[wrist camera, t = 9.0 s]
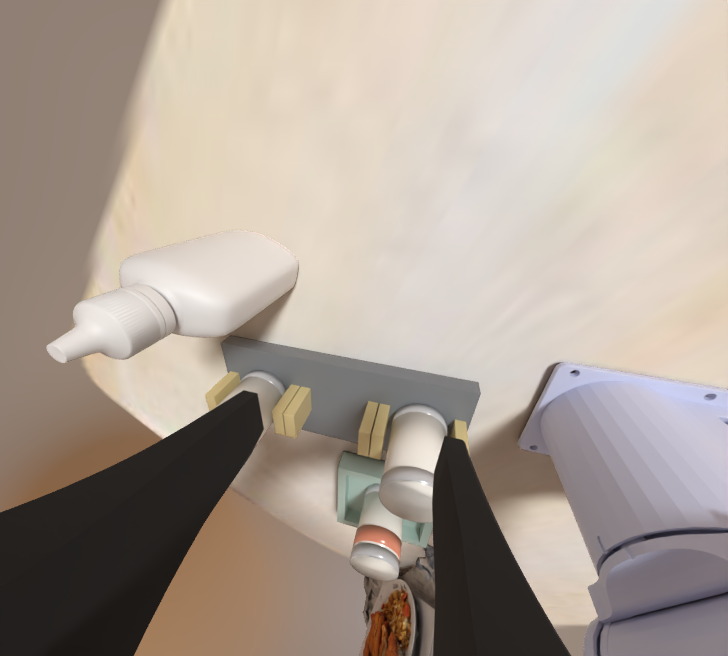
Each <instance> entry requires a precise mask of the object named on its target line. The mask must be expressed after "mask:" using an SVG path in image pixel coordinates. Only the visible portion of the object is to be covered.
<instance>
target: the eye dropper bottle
mask: <svg viewBox="0 0 728 656" xmlns="http://www.w3.org/2000/svg"><path fill="white" fill-rule="evenodd" d="M298 267H299V264H298V260H297V258H296V256H295V255H294V254H293V253H291V252H290V251H289V250H288V249H287V248H285V247H284V246H283V245H281V244H280V243H278V242H277V241H275V240H273V239H271V238H269V237H267V236H265V235H262V234H259V233H256V232H252V231H245V230H229V231H224V232H220V233H216V234H212V235H208V236H204V237H200V238H196V239H192V240H188V241H184V242H180V243H177V244H173V245H169V246H165V247H161V248H157V249H153V250H150V251H146V252H143V253H139V254H136V255H133V256H131V257H128V258H127V259H125V260H124V261H123V262H122V263H121V265H120V269H119V280H120V285H121V288H119V289H116V290H113V291H110V292H107V293H104V294H102V295H99V296H96V297H93V298H90V299H87V300H84V301H81V302H79V303H78V304H77V305H76V306H75V308H74V311H73V319H74V322H75V325H76V326H75V328H73V329H72V330H71V331H69V332H67V333H66V334H64V335H63V336H61V337H60V338H58V339H56V340H55V341H53V342H52V343H50V344H49V345H47V351H48V352H49V354H50V355H51V356H52V357H53V358H54V359H56V360H57V361H59V362H61V363H66V362H69V361H72V360H75V359H78V358H81V357H84V356H87V355H90V354H94V353H99V352H100V353H102V354H104V355H106V356H108V357H110V358H114V359H121V360H122V359H123V360H124V359H128V358H130V357H132V356H134V355H135V354H137V353H139V352H140V351H142V350H144V349H146V348H147V347H149V346H151V345H152V344H154V343H156V342H158V341H159V340H161V339H163V338H164V337H166V336H168V335H170V334H171V333H173V334H177V335H183V336H190V337H204V338H206V337H221V336H225V335H227V334H229V333H231V332H233V331H235V330H236V329H237V328H239V327H240V326H242V325H243V324H245V323H246V322H247V321H249V320H250V319H251V318H253V317H254V316H256V315H257V314H258V313H260V312H261V311H262V310H264V309H265V308H266V307H268V306H269V305H270V304H272V303H273V302H274V301H276V300H277V299H278V298H280V297H281V296H282V295H284V294H285V293H286V292H288V291H289V290H290V289H292V288H293V287H294V285H295V283H296V278H297V273H298Z"/></svg>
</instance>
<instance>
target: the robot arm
mask: <svg viewBox="0 0 728 656" xmlns="http://www.w3.org/2000/svg"><path fill="white" fill-rule="evenodd" d="M573 370H577V371H576V372H574V373H570V372H571V371H573ZM707 394H708V395H707ZM263 430H264V426H263V421H262V415H261V410H260V404H259V399H258V393H254V392H249V391H245V390H243V391H242V392H240V393H238V394H237V395H235V396H233V397H232V398H230V399H229V400H227V401H225V402H224V403H222V404H221V405H219V406H217V407H216V408H214V409H213V410H211V411H210V412H208V413H206V414H205V415H203V416H201V417H200V418H198V419H197V420H195V421H193V422H192V423H190V424H189V425H187V426H185V427H184V428H182V429H180V430H178V431H177V432H175V433H173V434H171V435H170V436H168V437H166V438H164V439H163V440H161V441H159V442H158V443H156V444H154V445H152V446H150V447H148V448H147V449H145V450H143V451H141V452H139V453H137V454H135V455H133V456H131V457H129V458H127V459H125V460H123V461H121V462H119V463H117V464H115V465H113V466H111V467H109V468H107V469H105V470H103V471H100V472H98V473H96V474H93V475H92V476H89V477H87V478H85V479H82V480H80V481H78V482H75V483H73V484H71V485H69V486H67V487H64V488H62V489H59V490H57V491H55V492H52V493H50V494H47V495H45V496H42V497H40V498H37V499H35V500H32V501H30V502H27V503H24V504H22V505H19V506H17V507H14V508H11V509H9V510H6V511H3V512H1V513H0V656H134V654H135V652H136V650H137V648H138V646H139V644H140V642H141V640H142V638H143V635H144V633H145V631H146V629H147V627H148V625H149V623H150V621H151V619H152V617H153V615H154V614H155V611H156V610H157V608H158V606H159V604H160V602H161V600H162V598H163V596H164V594H165V592H166V590H167V588H168V586H169V585H170V583H171V581H172V579H173V577H174V575H175V574H176V572H177V570H178V568H179V566H180V564H181V563H182V561H183V559H184V557H185V555H186V554H187V552H188V550H189V548H190V547H191V545H192V543H193V541H194V540H195V538H196V536H197V534H198V533H199V531H200V529H201V527H202V526H203V524H204V523H205V521H206V519H207V518H208V516H209V515H210V513H211V512H212V510H213V509H214V507H215V506H216V504H217V503H218V501H219V500H220V499H221V497H222V496H223V494H224V493H225V491H226V490H227V488H228V487H229V485H230V484H231V483H232V481H233V480H234V478H235V477H236V475H237V474H238V472H239V471H240V470H241V468H242V467H243V465H244V464H245V462H246V461H247V459H248V458H249V456H250V455H251V453H252V451H253V449H254V448H255V446H256V444H257V442H258V440H259V438H260V436H261V434H262V432H263ZM518 444H519V447H520V448H521V449H523V450H527V451H531V452H536V453H540V454H545V455H549V456H550V457H551V459H552V462H553V464H554V467H555V469H556V472H557V474H558V477H559V479H560V482H561V484H562V487H563V489H564V492H565V494H566V497H567V499H568V502H569V504H570V507H571V509H572V512H573V514H574V517H575V519H576V522H577V524H578V527H579V529H580V532H581V534H582V537H583V539H584V542H585V544H586V547H587V549H588V552H589V554H590V557H591V559H592V562H593V564H594V567H595V569H596V572H597V574H598V576H599V579H598V581H597V582H596V583H594V584H592V585H590V586H588V590H589V593H590V596H591V598H592V601H593V604H594V607H595V609H596V612H597V615H598V617H597V618H596V619H594V620H593V621H592V622H591V623H590V624H589V626H588V628H587V630H586V633H585V637H584V650H583V654H584V656H728V389H723V388H717V387H711V386H705V385H699V384H693V383H687V382H681V381H675V380H670V379H664V378H658V377H652V376H646V375H640V374H634V373H628V372H622V371H616V370H610V369H604V368H598V367H592V366H586V365H580V364H574V363H568V362H562V363H559V364H558V365H556V367H555V368H554V370H553V372H552V374H551V376H550V378H549V380H548V382H547V384H546V386H545V388H544V390H543V392H542V394H541V396H540V398H539V400H538V402H537V404H536V406H535V408H534V410H533V412H532V414H531V416H530V418H529V420H528V422H527V424H526V426H525V428H524V430H523V432H522V434H521V436H520V438H519V440H518ZM532 445H534V446H532ZM432 517H433V544H434V571H435V616H434V643H433V656H571V655H570V653H569V652H568V650H567V648H566V647H565V645H564V644H563V642H562V641H561V639H560V638H559V636H558V634H557V632H556V631H555V629H554V627H553V626H552V624H551V622H550V620H549V619H548V617H547V615H546V614H545V612H544V610H543V608H542V607H541V605H540V603H539V602H538V600H537V598H536V596H535V594H534V593H533V591H532V589H531V587H530V585H529V584H528V582H527V580H526V578H525V576H524V575H523V573H522V571H521V569H520V567H519V565H518V563H517V561H516V559H515V558H514V556H513V554H512V552H511V550H510V548H509V546H508V544H507V542H506V540H505V538H504V536H503V534H502V532H501V529H500V527H499V525H498V523H497V521H496V519H495V517H494V514H493V512H492V510H491V508H490V505H489V503H488V501H487V499H486V496H485V494H484V492H483V489H482V487H481V485H480V482H479V480H478V477H477V475H476V472H475V469H474V467H473V464H472V461H471V459H470V456H469V453H468V450H467V447H466V443H465V442H464V441H463V440H461V439H457V438H452V437H448V436H444V440H443V443H442V447H441V450H440V453H439V457H438V460H437V463H436V467H435V470H434V479H433V495H432Z"/></svg>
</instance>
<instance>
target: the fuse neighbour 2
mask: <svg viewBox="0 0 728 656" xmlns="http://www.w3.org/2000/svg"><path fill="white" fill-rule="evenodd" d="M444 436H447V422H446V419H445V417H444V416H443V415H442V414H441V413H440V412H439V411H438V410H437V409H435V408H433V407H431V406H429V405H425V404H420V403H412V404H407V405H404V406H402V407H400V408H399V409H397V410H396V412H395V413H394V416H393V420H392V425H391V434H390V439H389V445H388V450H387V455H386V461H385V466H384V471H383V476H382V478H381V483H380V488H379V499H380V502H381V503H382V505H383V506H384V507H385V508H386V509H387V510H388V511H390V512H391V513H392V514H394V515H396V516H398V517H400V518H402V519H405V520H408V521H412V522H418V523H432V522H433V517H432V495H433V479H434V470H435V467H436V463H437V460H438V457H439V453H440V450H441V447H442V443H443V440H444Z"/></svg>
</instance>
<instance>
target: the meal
mask: <svg viewBox="0 0 728 656" xmlns="http://www.w3.org/2000/svg"><path fill="white" fill-rule="evenodd" d="M425 554H426V558H425V559H424V558H418V560H417V565H416V567H415V568H414V569H413V570H411V571H408V572H406V573H405V574H404V575H403V576H400V577H398V578H397V579H396V580H393V581H379V580H375V579H372V578H369V577H366V576H365V578H364V588H365V591H366V595H367V596H366V602H365V607H364V611H363V614H364V618H365V622H366V626H367V630H366V635H365V638H364V641H363V644H362V646H361V651H360V654H359V656H433V643H434V616H435V571H434V548H432V547H430V546H428V545H427V547H426V548H425Z"/></svg>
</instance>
